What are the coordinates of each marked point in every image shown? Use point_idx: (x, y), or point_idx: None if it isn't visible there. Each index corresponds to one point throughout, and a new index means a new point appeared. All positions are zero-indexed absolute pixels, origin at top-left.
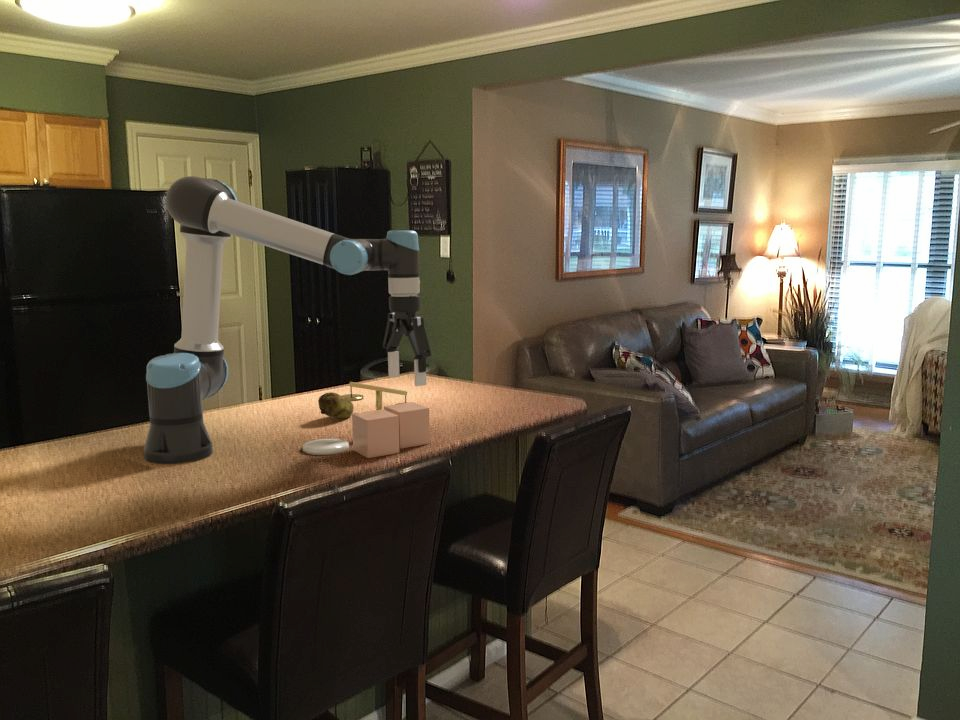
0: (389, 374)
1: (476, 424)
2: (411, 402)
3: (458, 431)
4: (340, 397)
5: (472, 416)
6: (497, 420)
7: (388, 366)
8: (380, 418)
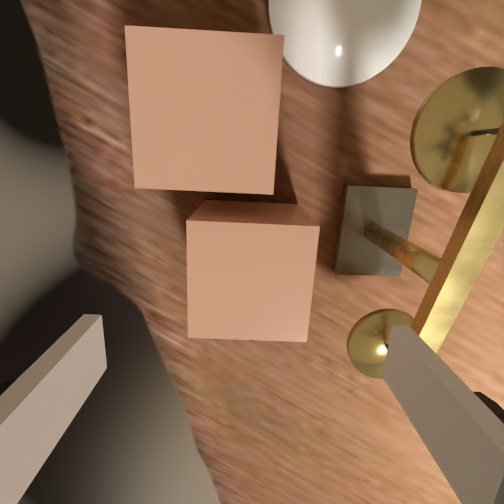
0: (406, 335)
1: (289, 449)
2: (304, 335)
3: (262, 392)
4: (498, 73)
5: (356, 477)
6: (289, 495)
7: (444, 365)
8: (130, 99)
